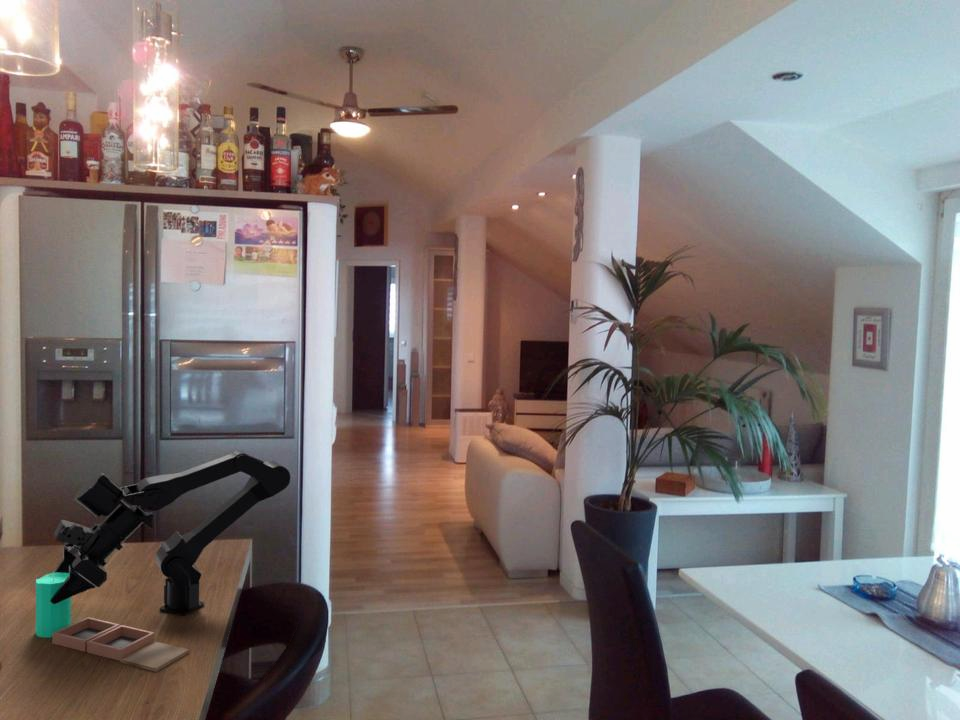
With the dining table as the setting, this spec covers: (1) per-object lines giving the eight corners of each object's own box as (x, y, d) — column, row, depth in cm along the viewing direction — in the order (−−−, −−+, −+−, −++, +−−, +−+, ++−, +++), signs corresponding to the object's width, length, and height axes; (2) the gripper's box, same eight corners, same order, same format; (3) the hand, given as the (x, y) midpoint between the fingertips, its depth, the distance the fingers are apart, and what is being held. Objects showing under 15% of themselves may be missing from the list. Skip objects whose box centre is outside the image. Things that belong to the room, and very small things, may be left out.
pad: (188, 652, 137) (188, 649, 137) (156, 671, 129) (156, 668, 129) (154, 644, 140) (154, 641, 140) (120, 662, 132) (120, 659, 132)
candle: (63, 621, 148) (63, 562, 147) (76, 630, 144) (76, 570, 143) (30, 630, 143) (30, 570, 142) (42, 640, 139) (43, 578, 139)
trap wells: (154, 642, 140) (154, 632, 140) (120, 660, 133) (120, 650, 133) (88, 627, 146) (88, 617, 146) (52, 643, 138) (52, 633, 138)
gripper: (77, 495, 152) (13, 555, 147) (88, 517, 137) (17, 586, 132) (118, 527, 157) (58, 587, 152) (133, 553, 142) (67, 620, 136)
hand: (50, 594), depth 143 cm, fingers open, 9 cm apart
